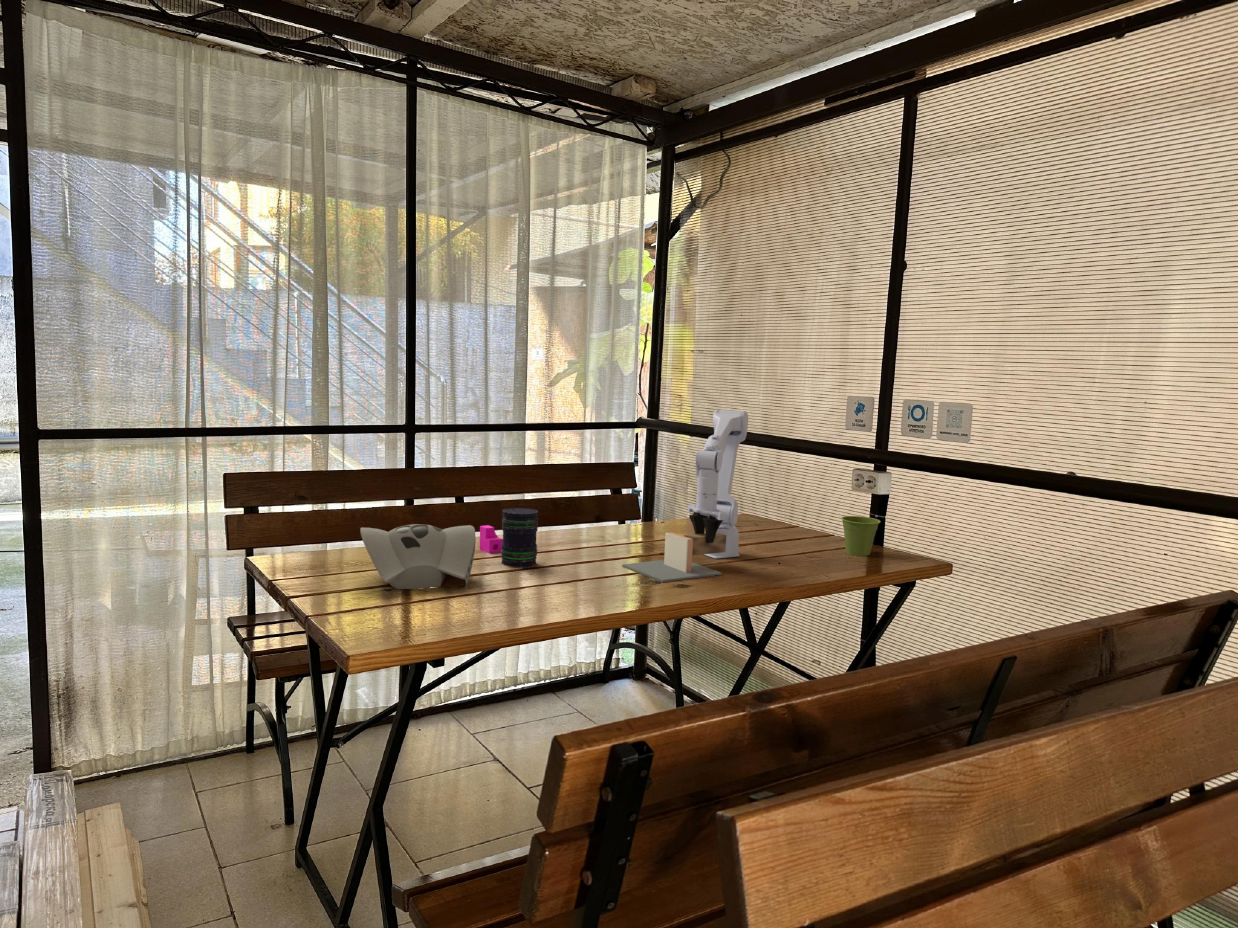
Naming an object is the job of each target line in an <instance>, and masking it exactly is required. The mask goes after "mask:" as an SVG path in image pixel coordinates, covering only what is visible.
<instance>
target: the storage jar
mask: <svg viewBox="0 0 1238 928" xmlns="http://www.w3.org/2000/svg"><path fill="white" fill-rule="evenodd" d="M538 514H539V510H538V509H535V508H529V507H508V508H504V509H502V519H501V520H502V521H501V524H502V526H501V531H502V539H503V544H502V550H501V552H500V555H501V565H503V566H507V567H513V568H523V569H526V568H527V569H528V568H529V569H530V568H532V567H536V566H537V556H538V545H537V532H538V529H539V528H538V527H539V526H538V525H539V516H538Z"/></svg>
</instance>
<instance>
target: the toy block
mask: <svg viewBox="0 0 1238 928" xmlns="http://www.w3.org/2000/svg"><path fill="white" fill-rule="evenodd" d="M502 544H503V538H501V537H499V536H498V535H497V533H496V530H495V527H494V526H491V525H489V524H487V525H480V526H479V551H480V550H481V551H480V552H486V553H488V554H495V553H501V550H502Z"/></svg>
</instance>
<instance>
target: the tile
mask: <svg viewBox="0 0 1238 928" xmlns="http://www.w3.org/2000/svg"><path fill="white" fill-rule="evenodd" d="M692 550H693V539H691V538H688V537H685V536H684V535H681V534H678V533H675V532H665V537H664V557H663V558H664V559H663V560H664V564H665V565H667V566H670V567H673V568H675V569H678V570H681V571H683V572H691V570H692V562H693V556H692Z"/></svg>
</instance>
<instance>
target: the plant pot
mask: <svg viewBox="0 0 1238 928" xmlns="http://www.w3.org/2000/svg"><path fill="white" fill-rule="evenodd" d="M840 520H842V528H843V535H844V547H845V553H846V554H847V555H850V556H854V555H855V556H856V557H868V556H867V555H869V556H870V554H871V551H872V548H873V545H874V540H875V536H876V532H877V530H878V526H879V524H881V520H880V519H877V518H873V517H868V516H859V515H858V516H857V515H845V516H841V517H840Z"/></svg>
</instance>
